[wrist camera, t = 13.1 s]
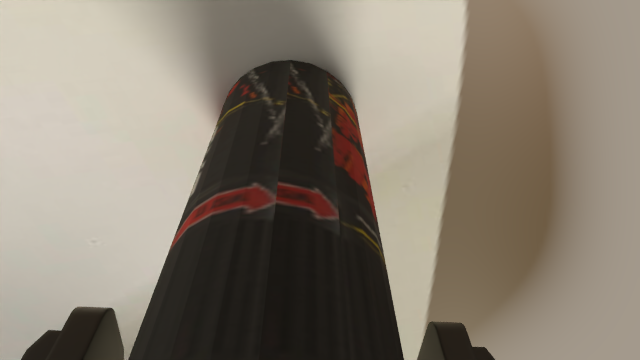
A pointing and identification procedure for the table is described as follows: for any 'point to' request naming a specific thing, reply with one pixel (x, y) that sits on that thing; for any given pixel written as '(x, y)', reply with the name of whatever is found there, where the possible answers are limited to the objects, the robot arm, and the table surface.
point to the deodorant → (277, 235)
